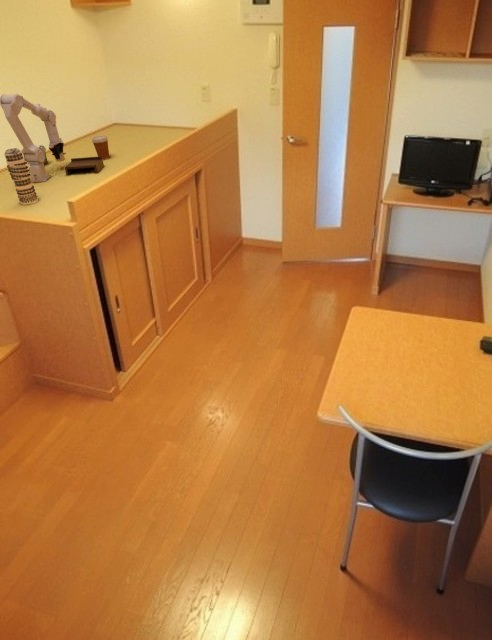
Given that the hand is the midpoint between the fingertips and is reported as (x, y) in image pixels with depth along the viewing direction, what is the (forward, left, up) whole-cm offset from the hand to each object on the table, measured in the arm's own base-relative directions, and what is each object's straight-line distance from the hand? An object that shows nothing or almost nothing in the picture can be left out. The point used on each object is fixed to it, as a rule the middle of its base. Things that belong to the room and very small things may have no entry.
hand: (59, 157), depth 280 cm
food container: (+12, +16, -7) cm, 21 cm away
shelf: (-7, -16, -6) cm, 19 cm away
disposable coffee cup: (+17, -20, -7) cm, 27 cm away
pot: (0, 0, -2) cm, 2 cm away
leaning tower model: (-54, -2, -7) cm, 54 cm away
